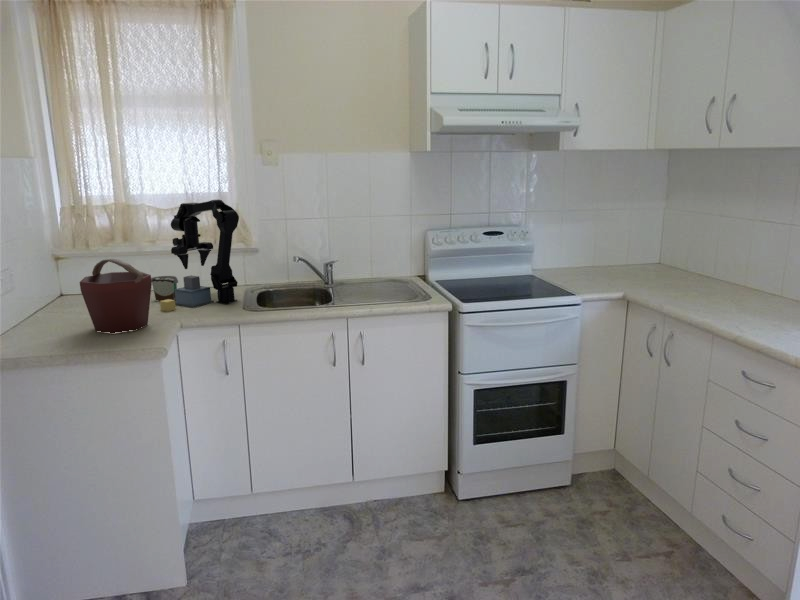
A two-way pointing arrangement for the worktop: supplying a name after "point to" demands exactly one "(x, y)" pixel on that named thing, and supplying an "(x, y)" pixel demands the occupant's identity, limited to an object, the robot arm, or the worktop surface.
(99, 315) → the bucket
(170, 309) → the block
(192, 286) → the cover
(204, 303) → the mat
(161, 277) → the food container
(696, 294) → the worktop surface
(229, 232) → the robot arm
